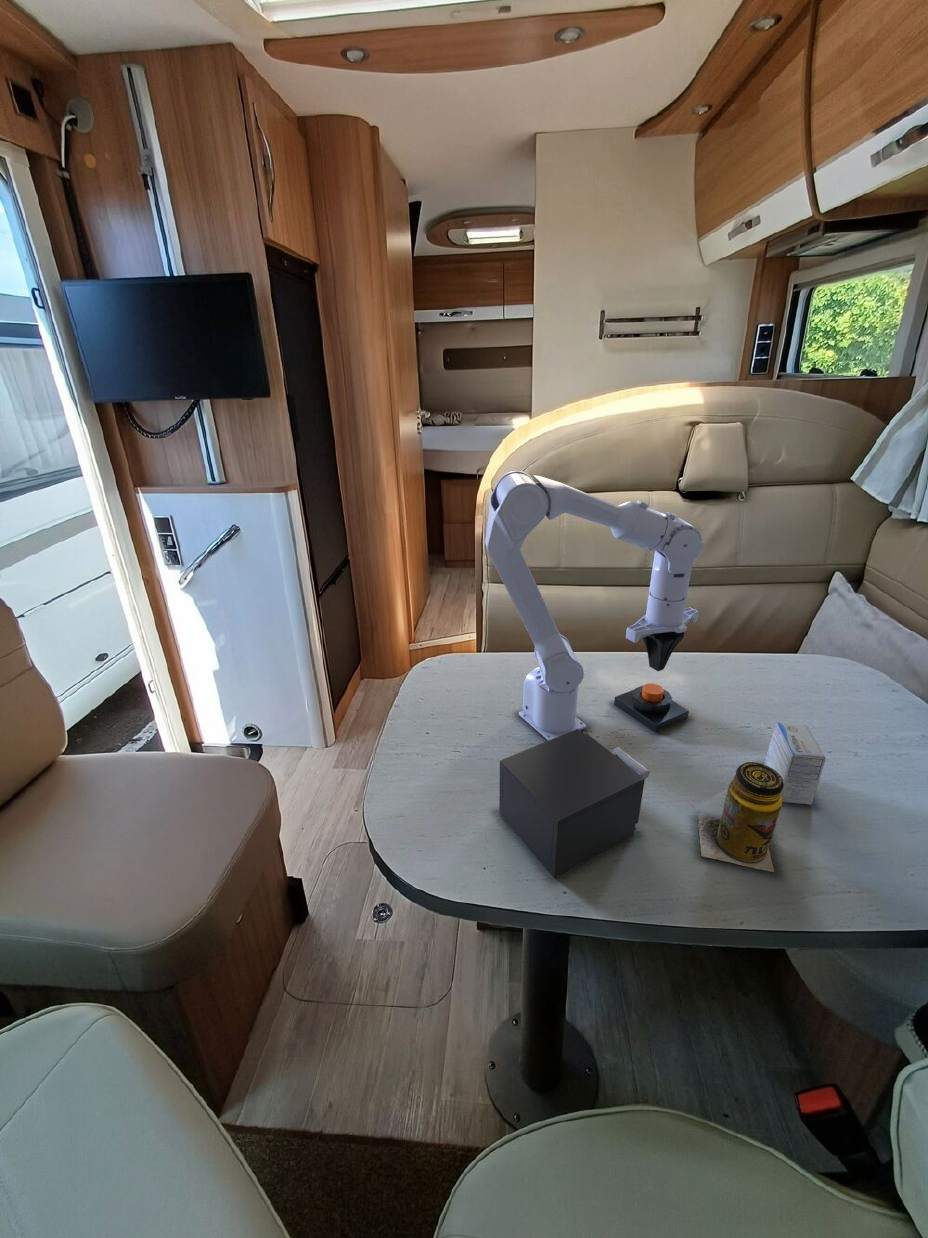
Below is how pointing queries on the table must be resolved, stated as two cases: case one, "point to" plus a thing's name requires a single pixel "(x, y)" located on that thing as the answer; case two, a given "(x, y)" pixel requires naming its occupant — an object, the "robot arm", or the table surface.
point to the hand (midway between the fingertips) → (656, 667)
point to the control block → (651, 709)
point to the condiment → (745, 819)
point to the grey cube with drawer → (568, 800)
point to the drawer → (629, 767)
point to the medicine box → (796, 761)
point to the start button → (652, 692)
